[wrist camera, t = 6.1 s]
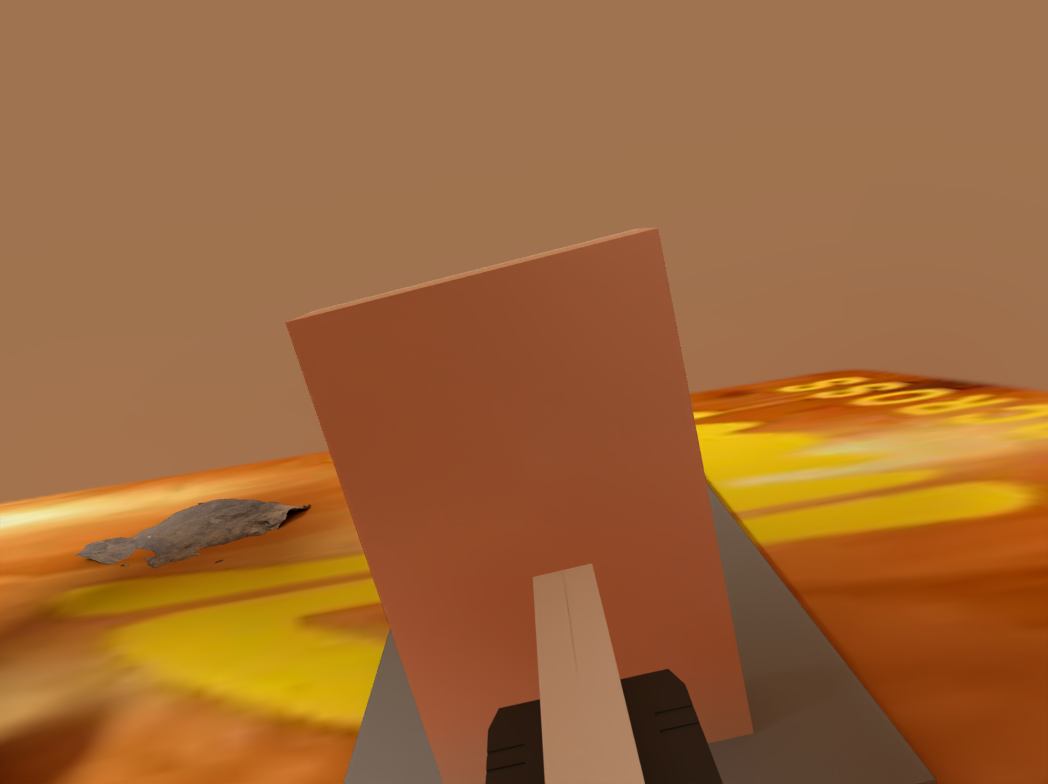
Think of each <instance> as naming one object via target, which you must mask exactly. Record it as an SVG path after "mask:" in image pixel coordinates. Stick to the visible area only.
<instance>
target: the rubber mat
mask: <svg viewBox="0 0 1048 784" xmlns="http://www.w3.org/2000/svg"><path fill="white" fill-rule="evenodd" d="M706 484H707V483H706ZM707 489H708V494H709V500H710V505H711V510H712V516H713V521H714V526H715V531H716V537H717V542H718V547H719V552H720V558H721V563H722V568H723V574H724V579H725V584H726V589H727V595H728V600H729V605H730V610H731V616H732V621H733V626H734V632H735V637H736V642H737V647H738V653H739V658H740V663H741V668H742V674H743V679H744V684H745V690H746V695H747V700H748V705H749V711H750V716H751V721H752V726H753V732H754V733H753V734H749V735H744V736H740V737H735V738H731V739H726V740H722V741H717V742H713V743H708V745H709V748H710V751H711V753H712V756H713V759H714V761H715V764H716V767H717V769H718V772H719V774H720V777H721V780H722V782H723V784H937V783H936V779H935V777H934V776H933V775H932V773H931V772H930V771H929V770H928V768H927V767H926V766H925V764H924V763H923V762H922V761H921V759H920V758H919V757H918V755H917V754H916V753H915V752H914V750H913V749H912V748H911V746H910V745H909V744H908V743H907V741H906V740H905V739H904V737H903V736H902V735H901V734H900V732H899V731H898V730H897V728H896V727H895V726H894V724H893V723H892V722H891V721H890V719H889V718H888V717H887V715H886V714H885V713H884V712H883V710H882V709H881V708H880V706H879V705H878V704H877V703H876V701H875V700H874V699H873V697H872V696H871V695H870V694H869V692H868V691H867V690H866V688H865V687H864V686H863V684H862V683H861V682H860V681H859V679H858V678H857V677H856V675H855V674H854V673H853V672H852V670H851V669H850V668H849V666H848V665H847V664H846V663H845V661H844V660H843V659H842V657H841V656H840V655H839V654H838V652H837V651H836V650H835V648H834V647H833V646H832V644H831V643H830V642H829V641H828V639H827V638H826V637H825V635H824V634H823V633H822V632H821V630H820V629H819V628H818V626H817V625H816V624H815V623H814V621H813V620H812V619H811V617H810V616H809V615H808V614H807V612H806V611H805V610H804V608H803V607H802V606H801V605H800V603H799V602H798V601H797V599H796V598H795V597H794V595H793V594H792V593H791V592H790V590H789V589H788V588H787V586H786V585H785V584H784V583H783V581H782V580H781V579H780V577H779V576H778V575H777V574H776V572H775V571H774V570H773V568H772V567H771V566H770V565H769V563H768V562H767V561H766V559H765V558H764V557H763V555H762V554H761V553H760V552H759V550H758V549H757V548H756V546H755V545H754V544H753V543H752V541H751V540H750V539H749V537H748V536H747V535H746V534H745V532H744V531H743V530H742V528H741V527H740V526H739V525H738V523H737V522H736V521H735V519H734V518H733V517H732V515H731V514H730V513H729V512H728V510H727V509H726V508H725V506H724V505H723V504H722V503H721V501H720V500H719V499H718V497H717V496H716V495H715V494H714V492H713V491H712V490H711V488H710V487H709V486H708V485H707ZM344 784H443V781H442V778H441V775H440V772H439V769H438V766H437V764H436V761H435V758H434V755H433V752H432V749H431V746H430V743H429V740H428V737H427V734H426V731H425V728H424V726H423V723H422V720H421V717H420V714H419V711H418V708H417V705H416V702H415V699H414V696H413V693H412V691H411V688H410V685H409V682H408V679H407V676H406V673H405V670H404V667H403V664H402V661H401V658H400V656H399V653H398V650H397V647H396V644H395V641H394V638H393V635H392V632H391V629H390V631H389V634H388V637H387V641H386V644H385V647H384V651H383V654H382V657H381V661H380V664H379V667H378V671H377V674H376V677H375V681H374V684H373V687H372V691H371V694H370V697H369V701H368V704H367V707H366V711H365V714H364V717H363V721H362V724H361V727H360V731H359V734H358V737H357V741H356V744H355V747H354V751H353V754H352V757H351V761H350V764H349V767H348V771H347V774H346V777H345V781H344Z"/></svg>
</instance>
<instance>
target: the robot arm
mask: <svg viewBox="0 0 1048 784" xmlns="http://www.w3.org/2000/svg"><path fill="white" fill-rule="evenodd" d="M533 590H534V607H535V624H536V640H537V657H538V674H539V691H540V699H538V700H534V701H529V702H525V703H520V704H516V705H511V706H507V707H502V708H499V709H498V711H497V713H496V715H495V717H494V719H493V721H492V723H491V725H490V727H489V729H488V740H487V755H488V756H487V761H486V772H487V775H486V782H485V784H723V782H722V780H721V777H720V774H719V772H718V769H717V767H716V764H715V761H714V759H713V756H712V753H711V751H710V748H709V745H708V743H707V740H706V738H705V735H704V732H703V730H702V727H701V725H700V722H699V719H698V717H697V714H696V711H695V709H694V707H693V703H692V701H691V698H690V696H689V693H688V690H687V688H686V685H685V684H684V683H683V682H682V681H681V680H680V679H679V678H678V677H677V676H676V675H675V674H674V673H673V672H671V671H670V670H669V669H664V670H660V671H655V672H651V673H646V674H642V675H637V676H633V677H628V678H624V679H620V676H619V672H618V667H617V663H616V659H615V655H614V651H613V647H612V643H611V639H610V635H609V631H608V626H607V622H606V618H605V614H604V610H603V606H602V602H601V598H600V594H599V590H598V586H597V582H596V578H595V573H594V569H593V565H592V563H591V564H587V565H583V566H578V567H574V568H570V569H565V570H561V571H557V572H553V573H548V574H544V575H540V576H535V577H533Z"/></svg>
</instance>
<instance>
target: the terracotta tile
mask: <svg viewBox="0 0 1048 784" xmlns="http://www.w3.org/2000/svg"><path fill="white" fill-rule="evenodd" d="M286 325H287V329H288V331H289V334H290V337H291V340H292V343H293V346H294V349H295V352H296V355H297V358H298V360H299V363H300V366H301V369H302V372H303V375H304V378H305V381H306V384H307V387H308V390H309V393H310V396H311V399H312V401H313V404H314V407H315V410H316V413H317V416H318V419H319V422H320V425H321V428H322V431H323V434H324V437H325V439H326V442H327V445H328V448H329V451H330V454H331V457H332V460H333V463H334V466H335V469H336V472H337V474H338V477H339V480H340V483H341V486H342V489H343V492H344V495H345V498H346V501H347V504H348V507H349V510H350V512H351V515H352V518H353V521H354V524H355V527H356V530H357V533H358V536H359V539H360V542H361V545H362V547H363V550H364V553H365V556H366V559H367V562H368V565H369V568H370V571H371V574H372V577H373V580H374V583H375V585H376V588H377V591H378V594H379V597H380V600H381V603H382V606H383V609H384V612H385V615H386V618H387V620H388V623H389V626H390V629H391V632H392V635H393V638H394V641H395V644H396V647H397V650H398V653H399V656H400V658H401V661H402V664H403V667H404V670H405V673H406V676H407V679H408V682H409V685H410V688H411V691H412V693H413V696H414V699H415V702H416V705H417V708H418V711H419V714H420V717H421V720H422V723H423V726H424V728H425V731H426V734H427V737H428V740H429V743H430V746H431V749H432V752H433V755H434V758H435V761H436V764H437V766H438V769H439V772H440V775H441V778H442V781H443V784H485V782H486V775H487V772H486V761H487V756H488V755H487V740H488V729H489V727H490V725H491V723H492V721H493V719H494V717H495V715H496V713H497V711H498V709H499V708H502V707H507V706H511V705H516V704H520V703H525V702H529V701H534V700H538V699H540V691H539V674H538V657H537V640H536V624H535V607H534V590H533V577H535V576H540V575H544V574H548V573H553V572H557V571H561V570H565V569H570V568H574V567H578V566H583V565H587V564H591V563H592V565H593V569H594V573H595V578H596V582H597V586H598V590H599V594H600V598H601V602H602V606H603V610H604V614H605V618H606V622H607V626H608V631H609V635H610V639H611V643H612V647H613V651H614V655H615V659H616V663H617V667H618V672H619V676H620V679H624V678H628V677H633V676H637V675H642V674H646V673H651V672H655V671H660V670H664V669H669V670H670V671H671V672H673V673H674V674H675V675H676V676H677V677H678V678H679V679H680V680H681V681H682V682H683V683H684V684H685V685H686V688H687V690H688V693H689V696H690V698H691V701H692V703H693V707H694V709H695V711H696V714H697V717H698V719H699V722H700V725H701V727H702V730H703V732H704V735H705V738H706V740H707V743H713V742H717V741H722V740H726V739H731V738H735V737H740V736H744V735H749V734H753V733H754V732H753V726H752V721H751V716H750V711H749V705H748V700H747V695H746V690H745V684H744V679H743V674H742V668H741V663H740V658H739V653H738V647H737V642H736V637H735V632H734V626H733V621H732V616H731V610H730V605H729V600H728V595H727V589H726V584H725V579H724V574H723V568H722V563H721V558H720V552H719V547H718V542H717V537H716V531H715V526H714V521H713V516H712V510H711V505H710V500H709V494H708V489H707V484H706V479H705V473H704V468H703V463H702V458H701V452H700V447H699V442H698V436H697V431H696V426H695V421H694V415H693V410H692V405H691V400H690V394H689V389H688V384H687V379H686V373H685V368H684V363H683V357H682V352H681V347H680V342H679V336H678V331H677V326H676V321H675V315H674V310H673V305H672V299H671V294H670V289H669V284H668V278H667V274H666V268H665V263H664V257H663V253H662V247H661V241H660V236H659V231H658V228H638V229H634V230H630V231H626V232H623V233H619V234H615V235H611V236H607V237H603V238H599V239H595V240H591V241H587V242H583V243H579V244H575V245H571V246H567V247H563V248H559V249H556V250H552V251H548V252H544V253H540V254H536V255H532V256H528V257H524V258H520V259H517V260H512V261H508V262H505V263H501V264H497V265H493V266H489V267H485V268H481V269H477V270H473V271H469V272H465V273H461V274H457V275H453V276H449V277H445V278H441V279H438V280H434V281H430V282H426V283H422V284H418V285H414V286H410V287H406V288H402V289H398V290H395V291H390V292H386V293H382V294H378V295H375V296H371V297H367V298H363V299H359V300H355V301H351V302H347V303H343V304H340V305H335V306H332V307H327V308H323V309H319V310H316V311H312V312H310V313H307V314H305V315H302V316H300V317H298V318H295V319H293V320H290V321H288V322H286Z"/></svg>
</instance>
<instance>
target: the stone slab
mask: <svg viewBox="0 0 1048 784" xmlns="http://www.w3.org/2000/svg"><path fill="white" fill-rule="evenodd" d="M197 504H199V505H196V506H193V507H190V508H187V509H185V510H182V511H179V512H177V513H175V514H173V515H172V516H171V517H169V518H168V519H166V520H165V521H163V522H162V523H160V524H158V525H156V526H154V527H152V528H149V529H146V530H143V531H141V532H139V533H138V534H137V535H136V536H134V537H132V538H122V537H120V538H114V539H108V540H102V541H99V542H94V543H91V544H88V545H86V547H85V548H84V549H83V550H82V551H81V552H80V553H79V554H77V555H75V556H81V557H84V558H86V557H87V558H90V559H93V560H96V561H98V562H101V563H104V564H107V565H109V564H114V563H117V562H120V561H121V560H122V559H125V558H127V557H129V556H131V554H133V553H134V551H136V549H138V548H139V549H146V550H152V551H153V552H155V553H156V556H155V557H152V558H144V559H147V561H146V562H148V565H150V566H152V567H153V568H157V567H160V566H162V565H164V564H166V563H169V562H176V561H180V560H185V559H187V558H190V557H193V556H198V555H200V554H201V553H197V552H195V551H197V550H199V549H203V548H207V547H211V546H216V545H222V544H226V543H229V542H232V541H235V540H239V539H242V538H245V537H248V536H259V535H263V534H265V533H266V531H268V530H276V529H278V527H279V525H280V523H281V522H282V521H284V520H285V519H286V516H287V513H288V511H289V510H298V509H307V508H308V507H309V506H310V505H309V506H305V505H303V506H302V508H299V506H289V505H284V504H280V503H277V502H268V503H266V502H262V501H258V500H237V499H220V500H213V501H210V502H206V503H197ZM194 552H195V553H194ZM221 561H223V560H219V561H216V562H215V563H218V562H221ZM123 565H125V566H129V565H127V564H123Z"/></svg>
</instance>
